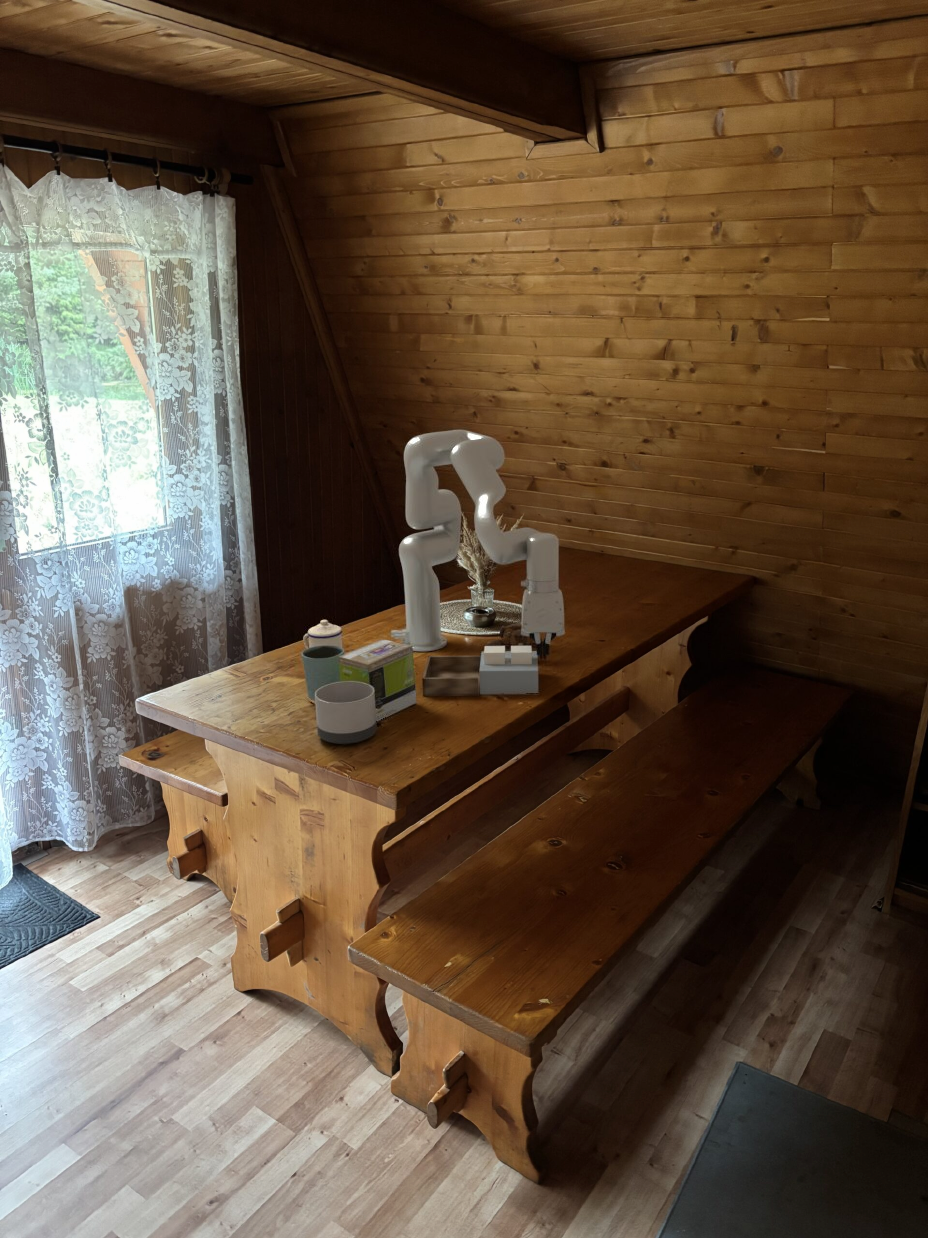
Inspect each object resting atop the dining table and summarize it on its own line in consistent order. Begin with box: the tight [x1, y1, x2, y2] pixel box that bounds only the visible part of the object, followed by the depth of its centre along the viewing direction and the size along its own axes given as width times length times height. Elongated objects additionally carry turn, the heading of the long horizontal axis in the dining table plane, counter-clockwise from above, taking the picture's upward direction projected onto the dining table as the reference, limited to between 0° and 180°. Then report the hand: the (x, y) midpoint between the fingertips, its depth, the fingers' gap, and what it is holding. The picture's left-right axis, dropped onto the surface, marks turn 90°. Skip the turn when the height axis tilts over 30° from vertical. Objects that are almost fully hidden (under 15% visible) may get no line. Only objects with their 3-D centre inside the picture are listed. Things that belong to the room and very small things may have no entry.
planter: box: [314, 681, 378, 745], centre depth 208 cm, size 13×13×10 cm
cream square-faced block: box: [483, 645, 505, 664], centre depth 235 cm, size 5×5×3 cm
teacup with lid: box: [302, 619, 343, 649], centre depth 254 cm, size 12×9×12 cm
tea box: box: [339, 638, 418, 722], centre depth 221 cm, size 15×10×15 cm
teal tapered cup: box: [301, 645, 345, 701], centre depth 229 cm, size 10×10×12 cm
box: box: [421, 655, 481, 697], centre depth 237 cm, size 13×16×4 cm
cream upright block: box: [511, 646, 532, 664], centre depth 234 cm, size 5×5×3 cm
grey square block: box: [479, 650, 539, 695], centre depth 236 cm, size 14×14×6 cm
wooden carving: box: [485, 623, 543, 658], centre depth 250 cm, size 16×5×10 cm, turn 89°
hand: (542, 657), depth 234 cm, fingers closed
